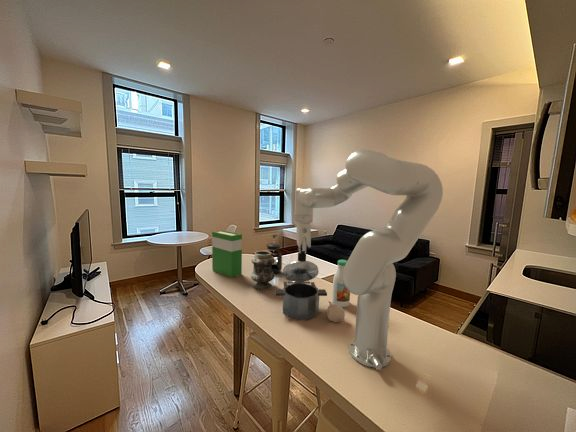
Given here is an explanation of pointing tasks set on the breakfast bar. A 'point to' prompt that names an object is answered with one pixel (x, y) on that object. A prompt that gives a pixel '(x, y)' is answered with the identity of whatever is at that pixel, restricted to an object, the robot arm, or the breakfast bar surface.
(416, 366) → the breakfast bar surface
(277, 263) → the french press
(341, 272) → the milk bottle
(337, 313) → the garlic bulb
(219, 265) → the green tissue carton
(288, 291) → the cooker pot
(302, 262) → the cooker lid
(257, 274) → the grey rounded vessel
